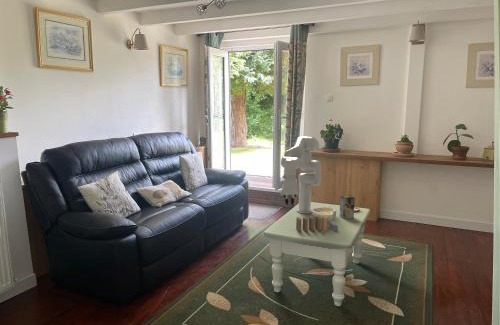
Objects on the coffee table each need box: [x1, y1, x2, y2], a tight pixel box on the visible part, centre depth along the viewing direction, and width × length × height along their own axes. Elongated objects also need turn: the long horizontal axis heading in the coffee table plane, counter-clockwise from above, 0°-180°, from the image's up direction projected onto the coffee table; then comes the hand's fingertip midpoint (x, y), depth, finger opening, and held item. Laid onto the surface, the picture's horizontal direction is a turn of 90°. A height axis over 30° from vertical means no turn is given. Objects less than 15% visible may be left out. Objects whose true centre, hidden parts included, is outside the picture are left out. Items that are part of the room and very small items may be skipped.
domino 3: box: [308, 215, 315, 232], centre depth 246 cm, size 6×2×9 cm, turn 8°
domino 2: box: [301, 216, 309, 233], centre depth 246 cm, size 6×2×9 cm, turn 8°
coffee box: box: [339, 195, 356, 219], centre depth 274 cm, size 9×6×16 cm
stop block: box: [328, 220, 339, 232], centre depth 249 cm, size 8×3×4 cm, turn 8°
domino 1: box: [295, 216, 303, 233], centre depth 245 cm, size 6×2×9 cm, turn 8°
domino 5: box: [320, 215, 328, 232], centre depth 248 cm, size 6×2×9 cm, turn 9°
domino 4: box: [314, 215, 321, 232], centre depth 247 cm, size 6×2×9 cm, turn 8°
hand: (289, 203), depth 242 cm, fingers open, 2 cm apart
